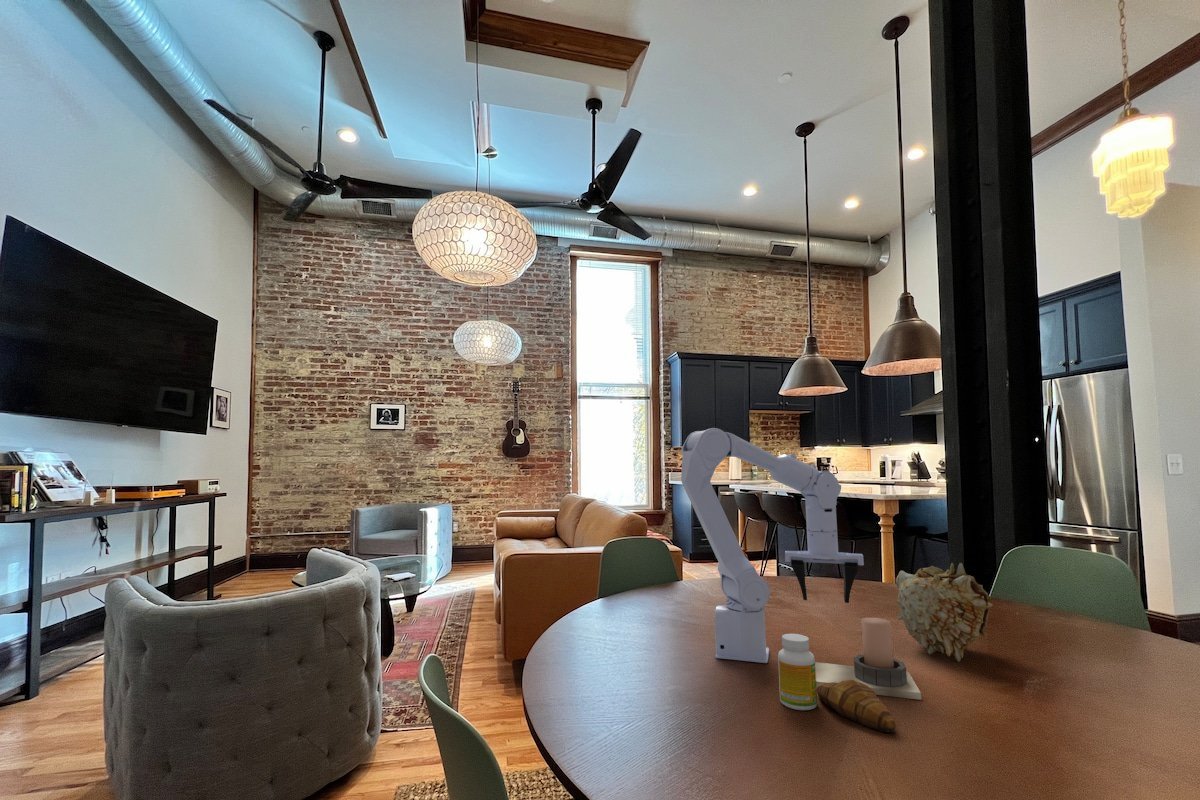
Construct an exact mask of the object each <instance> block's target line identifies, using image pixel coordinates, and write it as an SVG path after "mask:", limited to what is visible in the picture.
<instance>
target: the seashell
mask: <svg viewBox="0 0 1200 800" xmlns="http://www.w3.org/2000/svg"><path fill="white" fill-rule="evenodd" d="M895 584H896V587H897V589H898V590H897V591H898V593H897V600H896V603H897V604H898V607H899V611H900V613H899V615H898V617H897V620H899V621H900V620H902V621H903V624H904V626H905V628H906V630H907V632H908V634H909V635H910V636H911V637H912V638H913V639H914V640H915V641H916V642H917V643H918V644H919V645H921V646H922V647H924V648H925V649H926V650H927V653H928V655H932V654H934V653H935V652H941V654H944V653H945V654H946V655H947V656H948V657H951V655H952V654H953V657H954V658H955V661H956V662H958V663H960V662H961V660H962V659H963V658H964V650H965V648H967V647H968V646H970V645H971V644H972V643H974V642H976V640H977V639H978V637H979V636H981V637H984V638H988V635H987V633H986V629H987V628H988V620H989V615H990V609H991V607H993V606H994V604H993V603H992V602H991V600H992V597H991V596H989V594H988V592H987V591H986V590H985V589H984V588H983V584H979V583H978V582H977V581H976V579H975V577H974V576H971V575H969V574H967V573H966V570H965V568H964V565H963V563H962V562H959V564H958V566H957V569H956V570H955V565H954V563H953V562H951V564H950V567H949V568H947V570H943V569H941V568H939V567H937V566H934V565H930V566H929V567H921V568H919V569H917V571H916V573H915V574H911V573H907V572H905V571H904V570H900V571H899V572H898V575H897V576H896V578H895Z"/></svg>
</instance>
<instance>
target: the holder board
mask: <svg viewBox="0 0 1200 800" xmlns="http://www.w3.org/2000/svg"><path fill="white" fill-rule="evenodd" d="M893 661H894V668H893V669H882V668H875V667H871V666H867V665H865V664H864V654H858V655H856V656H854V657H853V665H848V664H838V663H837V664H836V663H826V662H818V661H815V671H816V689H817V687H818V686H820V685H822V684H824V683H831V682H835V683H839V682H841V681H846V680H854V681H857V682H860V683H863V684H865V685H867V686H868V687H870V688H871V689H872V690H874V692H875V694H876V696H883V697H884V696H885V697H895V698H903V699H911V700H920V701H921V700H922V693H921V690H920V689H919V687H918V686H917V684H916V682H915V680H914V679H913V677H912V675H911V674H910V672H909V671H907V666H906V664H905V663H904V662H903V661H901V660H899V659H896V658H894V657H893Z"/></svg>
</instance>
